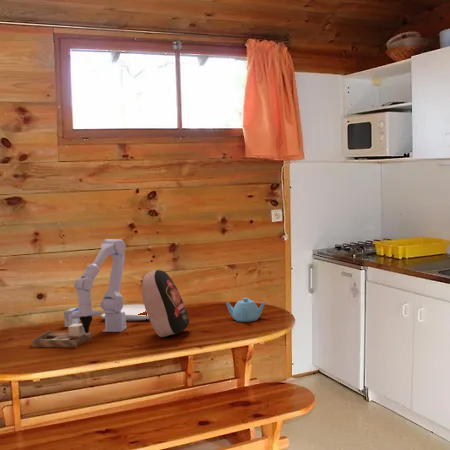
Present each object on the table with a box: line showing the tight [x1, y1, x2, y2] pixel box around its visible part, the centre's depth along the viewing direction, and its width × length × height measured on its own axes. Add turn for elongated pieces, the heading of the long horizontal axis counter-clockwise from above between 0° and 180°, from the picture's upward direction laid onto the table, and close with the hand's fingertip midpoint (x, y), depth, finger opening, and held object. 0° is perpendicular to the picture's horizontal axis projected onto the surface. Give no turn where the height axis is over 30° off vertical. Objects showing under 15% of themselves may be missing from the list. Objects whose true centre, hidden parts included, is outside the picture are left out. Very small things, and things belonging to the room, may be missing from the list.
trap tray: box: [31, 329, 94, 348], centre depth 265 cm, size 21×18×3 cm
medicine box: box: [63, 307, 81, 328], centre depth 294 cm, size 8×4×9 cm, turn 168°
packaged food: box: [141, 269, 190, 338], centre depth 268 cm, size 22×20×30 cm
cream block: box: [67, 323, 85, 336], centre depth 269 cm, size 6×6×4 cm
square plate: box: [100, 304, 149, 321], centre depth 311 cm, size 27×27×4 cm
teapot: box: [225, 297, 266, 323], centre depth 291 cm, size 15×15×11 cm
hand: (86, 332), depth 268 cm, fingers closed
